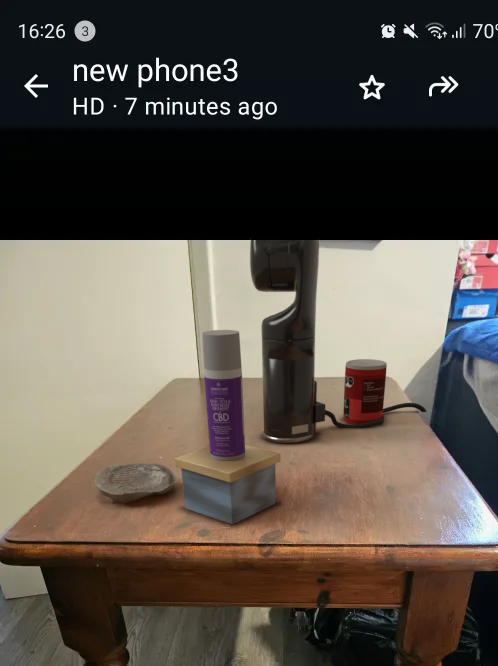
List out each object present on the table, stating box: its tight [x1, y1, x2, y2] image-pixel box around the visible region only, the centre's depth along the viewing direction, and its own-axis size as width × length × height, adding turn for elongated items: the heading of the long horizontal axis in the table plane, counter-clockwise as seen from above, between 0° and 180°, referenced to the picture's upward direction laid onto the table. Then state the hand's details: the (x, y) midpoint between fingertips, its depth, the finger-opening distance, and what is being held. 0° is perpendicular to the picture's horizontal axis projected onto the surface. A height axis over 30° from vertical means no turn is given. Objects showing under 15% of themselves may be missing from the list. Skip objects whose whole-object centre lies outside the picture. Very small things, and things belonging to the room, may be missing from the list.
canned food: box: [342, 358, 388, 425], centre depth 115 cm, size 8×8×11 cm
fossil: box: [94, 462, 177, 504], centre depth 85 cm, size 10×12×3 cm
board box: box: [174, 444, 281, 525], centre depth 79 cm, size 10×10×7 cm
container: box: [201, 329, 246, 461], centre depth 73 cm, size 5×5×15 cm
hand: (226, 208), depth 72 cm, fingers open, 8 cm apart
